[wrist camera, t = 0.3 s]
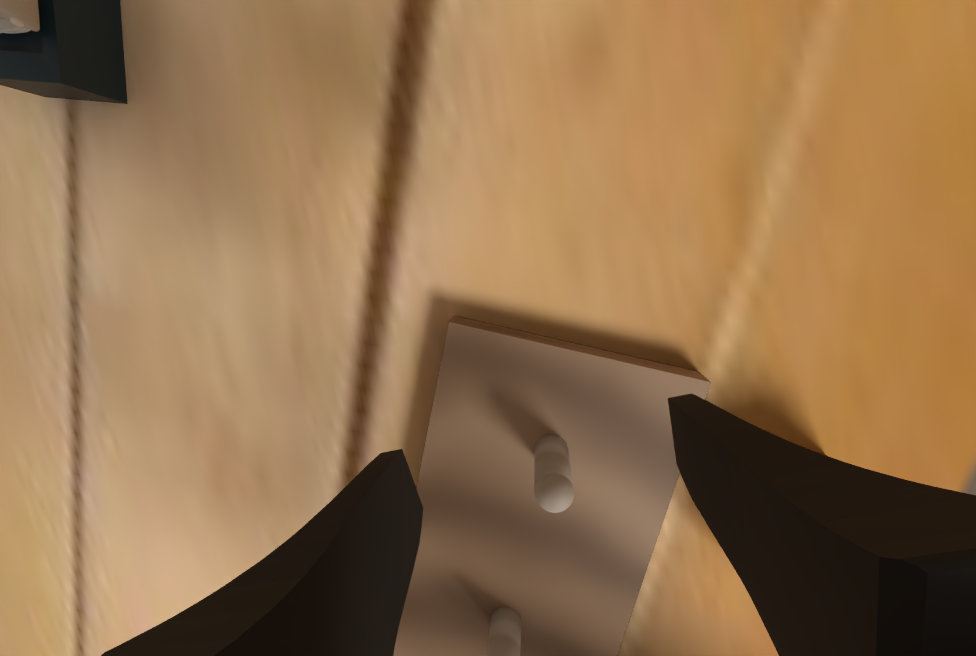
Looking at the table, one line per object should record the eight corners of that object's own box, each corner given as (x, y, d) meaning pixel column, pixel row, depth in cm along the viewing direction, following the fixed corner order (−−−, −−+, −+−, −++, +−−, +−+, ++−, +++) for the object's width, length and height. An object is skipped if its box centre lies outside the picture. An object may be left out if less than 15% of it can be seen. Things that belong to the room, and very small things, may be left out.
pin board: (590, 695, 26) (605, 822, 21) (390, 640, 27) (351, 749, 21) (699, 371, 22) (756, 421, 16) (454, 315, 22) (426, 345, 17)
